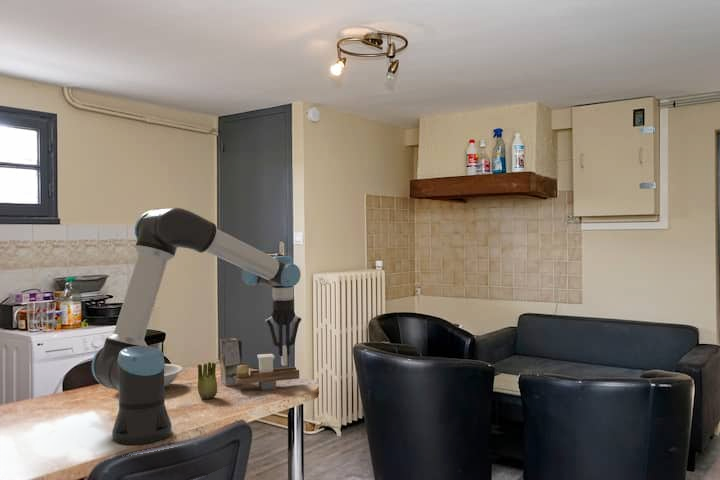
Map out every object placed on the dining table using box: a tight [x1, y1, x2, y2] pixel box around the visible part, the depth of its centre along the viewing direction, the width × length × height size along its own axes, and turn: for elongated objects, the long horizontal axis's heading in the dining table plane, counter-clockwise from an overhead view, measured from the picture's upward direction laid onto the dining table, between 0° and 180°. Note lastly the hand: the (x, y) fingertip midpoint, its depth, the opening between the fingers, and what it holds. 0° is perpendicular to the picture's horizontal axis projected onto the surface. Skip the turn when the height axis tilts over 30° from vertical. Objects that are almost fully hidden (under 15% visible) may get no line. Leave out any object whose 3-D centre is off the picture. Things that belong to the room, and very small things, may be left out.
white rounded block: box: [256, 353, 275, 373], centre depth 212 cm, size 5×5×7 cm
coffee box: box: [219, 337, 243, 387], centre depth 221 cm, size 9×6×16 cm
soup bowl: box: [164, 363, 184, 388], centre depth 213 cm, size 24×24×7 cm
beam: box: [235, 364, 300, 392], centre depth 212 cm, size 7×22×8 cm, turn 109°
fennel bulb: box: [197, 361, 218, 400], centre depth 199 cm, size 6×5×12 cm
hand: (284, 364), depth 214 cm, fingers closed
